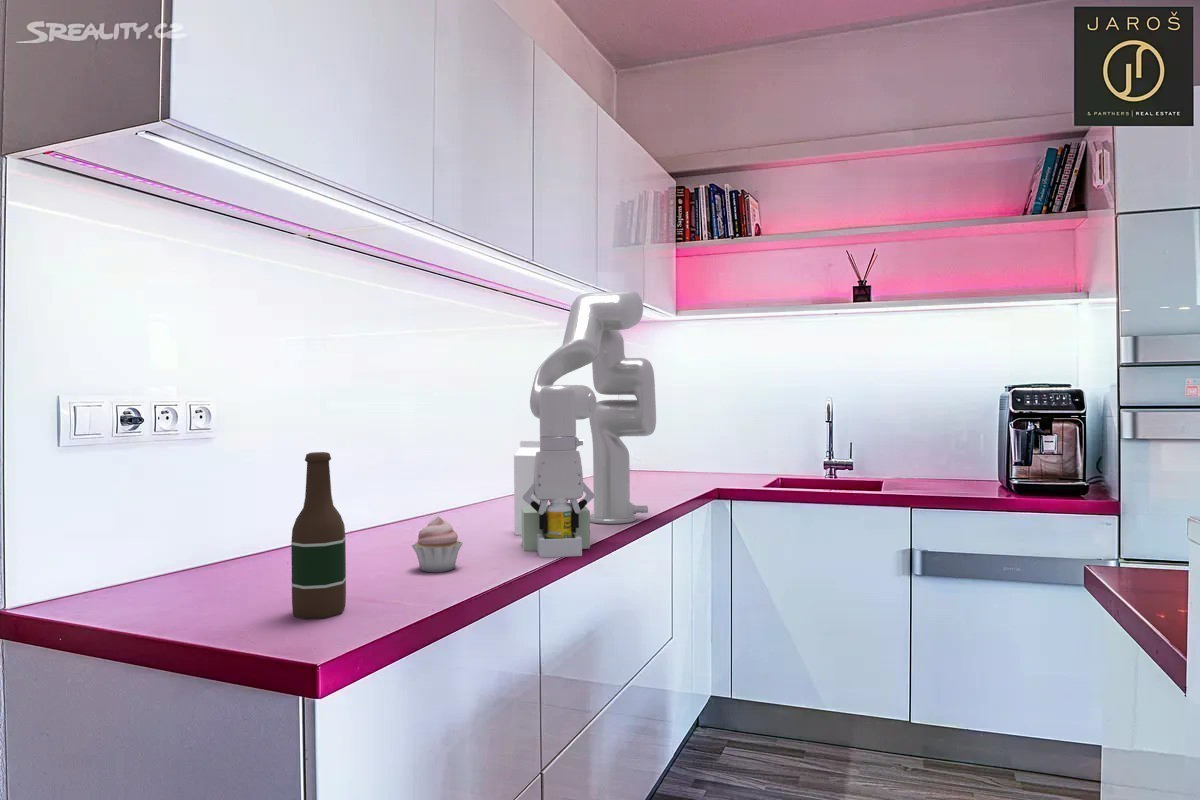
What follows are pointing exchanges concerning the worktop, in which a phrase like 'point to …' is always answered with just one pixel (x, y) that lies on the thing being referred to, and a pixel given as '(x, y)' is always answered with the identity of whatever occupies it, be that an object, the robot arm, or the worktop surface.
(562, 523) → the supplement bottle
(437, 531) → the cupcake
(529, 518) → the green box with tray
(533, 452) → the milk
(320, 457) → the beer bottle
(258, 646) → the worktop surface
